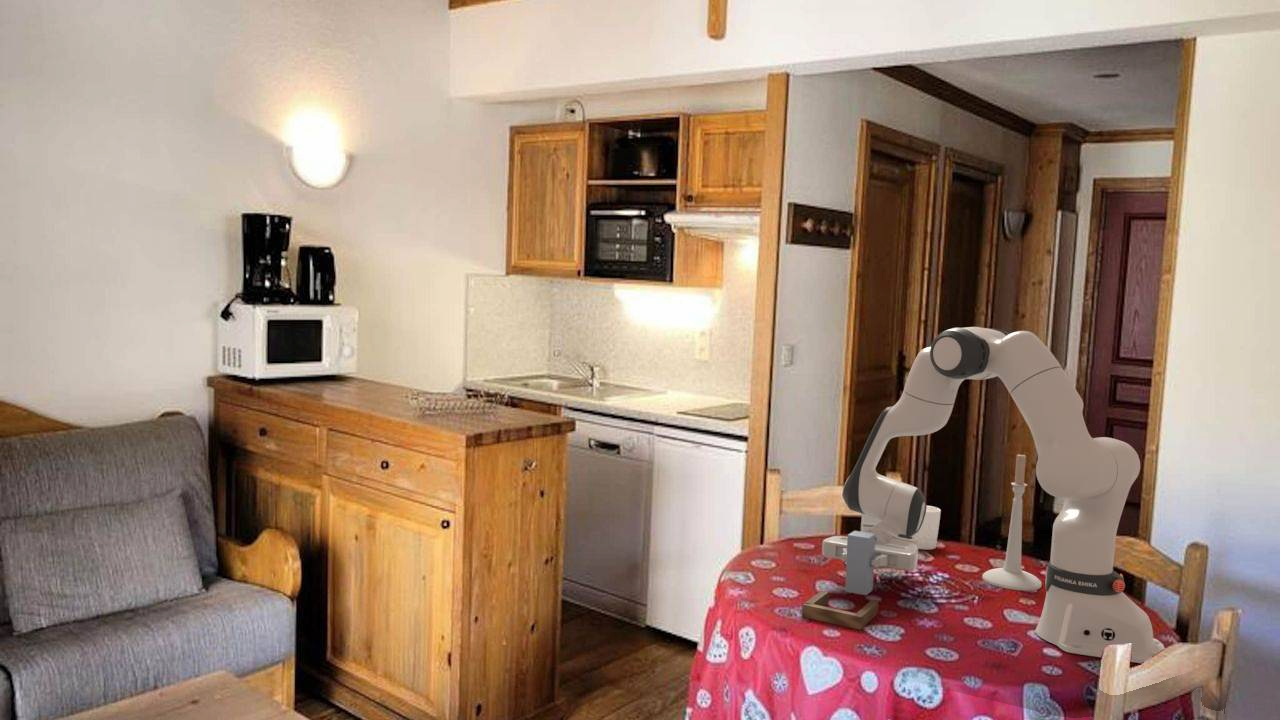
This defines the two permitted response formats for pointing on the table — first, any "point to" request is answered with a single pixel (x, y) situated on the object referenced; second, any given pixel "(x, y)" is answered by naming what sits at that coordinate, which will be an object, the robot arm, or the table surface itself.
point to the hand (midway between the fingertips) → (859, 560)
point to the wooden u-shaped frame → (838, 612)
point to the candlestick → (1014, 544)
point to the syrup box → (868, 522)
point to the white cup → (929, 529)
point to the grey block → (859, 562)
